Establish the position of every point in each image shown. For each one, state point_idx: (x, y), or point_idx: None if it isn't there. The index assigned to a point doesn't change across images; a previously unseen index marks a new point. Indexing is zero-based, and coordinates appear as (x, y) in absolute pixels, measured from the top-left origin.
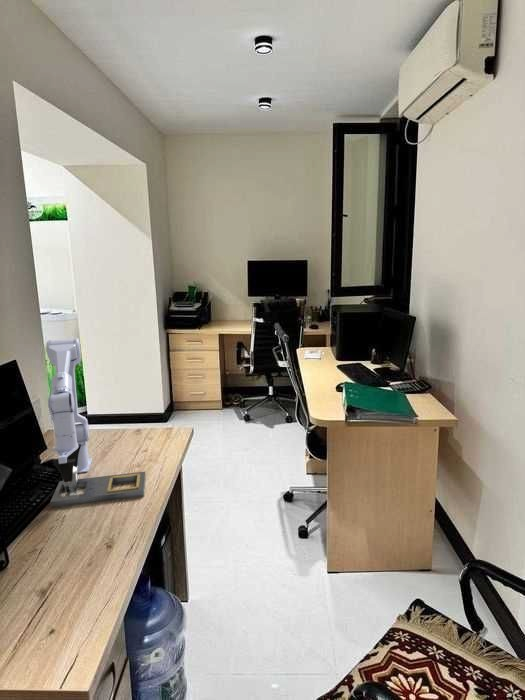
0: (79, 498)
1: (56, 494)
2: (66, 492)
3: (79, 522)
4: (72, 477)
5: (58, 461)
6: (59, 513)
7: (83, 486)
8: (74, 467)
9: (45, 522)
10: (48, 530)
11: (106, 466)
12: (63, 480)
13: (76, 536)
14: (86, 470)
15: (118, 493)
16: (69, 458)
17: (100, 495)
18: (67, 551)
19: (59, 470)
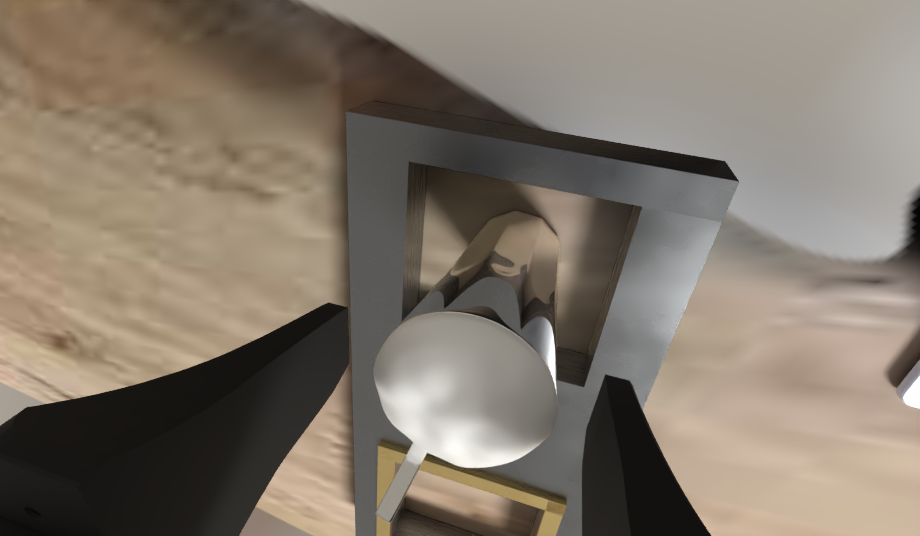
0: (350, 308)
1: (457, 158)
2: (480, 233)
3: (199, 263)
4: (325, 389)
5: (22, 507)
6: (295, 162)
7: (595, 334)
8: (459, 461)
9: (205, 75)
10: (129, 103)
11: (891, 508)
12: (446, 280)
13: (97, 242)
14: (913, 396)
15: (354, 475)
16: (606, 521)
17: (354, 409)
18: (3, 202)
19: (172, 379)
